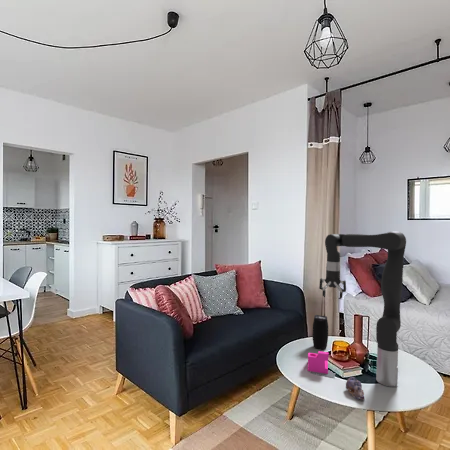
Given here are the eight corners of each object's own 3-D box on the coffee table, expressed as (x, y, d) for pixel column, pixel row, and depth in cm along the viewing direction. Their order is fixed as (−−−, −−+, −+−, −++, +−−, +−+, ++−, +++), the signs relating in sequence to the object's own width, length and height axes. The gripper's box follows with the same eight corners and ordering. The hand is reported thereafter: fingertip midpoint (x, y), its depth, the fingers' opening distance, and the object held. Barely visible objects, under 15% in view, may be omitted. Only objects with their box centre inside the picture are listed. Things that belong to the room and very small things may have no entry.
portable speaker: (310, 345, 203) (310, 314, 202) (323, 344, 204) (324, 314, 204) (316, 350, 194) (317, 319, 194) (330, 349, 196) (331, 318, 196)
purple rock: (368, 403, 141) (369, 389, 141) (350, 401, 142) (351, 388, 142) (360, 388, 153) (360, 376, 153) (343, 387, 154) (343, 374, 154)
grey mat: (336, 366, 175) (336, 366, 175) (334, 378, 162) (334, 377, 162) (314, 362, 179) (314, 361, 179) (310, 373, 167) (310, 372, 167)
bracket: (328, 373, 166) (328, 354, 166) (307, 370, 169) (308, 351, 168) (327, 363, 177) (327, 345, 177) (308, 360, 180) (308, 343, 180)
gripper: (347, 269, 180) (346, 297, 181) (321, 267, 186) (320, 294, 187) (346, 271, 174) (345, 301, 174) (319, 269, 179) (318, 297, 180)
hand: (332, 297), depth 180 cm, fingers open, 8 cm apart
